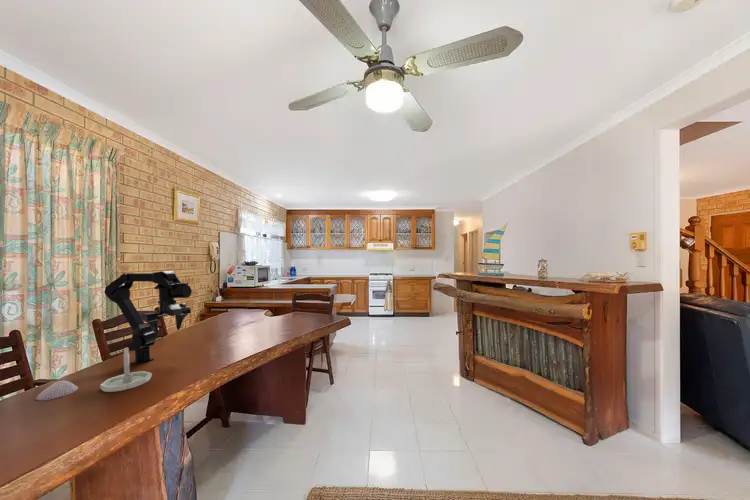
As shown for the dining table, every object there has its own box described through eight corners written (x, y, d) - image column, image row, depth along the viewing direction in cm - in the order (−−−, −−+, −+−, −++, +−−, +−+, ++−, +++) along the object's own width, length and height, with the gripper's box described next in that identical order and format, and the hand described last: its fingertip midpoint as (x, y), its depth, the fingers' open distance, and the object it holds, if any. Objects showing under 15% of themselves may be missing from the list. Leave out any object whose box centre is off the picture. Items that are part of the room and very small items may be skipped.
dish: (94, 387, 112) (93, 383, 112) (138, 373, 125) (138, 369, 125) (113, 394, 106) (113, 390, 106) (158, 378, 119) (158, 374, 119)
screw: (136, 377, 119) (134, 382, 115) (120, 381, 116) (117, 385, 112) (135, 344, 119) (133, 347, 115) (119, 347, 116) (116, 350, 112)
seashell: (82, 376, 116) (72, 380, 108) (81, 392, 115) (71, 396, 107) (45, 382, 111) (31, 386, 103) (43, 398, 110) (30, 404, 102)
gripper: (153, 302, 127) (155, 339, 127) (197, 296, 144) (198, 329, 144) (139, 301, 133) (140, 337, 132) (183, 295, 149) (184, 327, 149)
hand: (167, 332), depth 139 cm, fingers open, 9 cm apart
